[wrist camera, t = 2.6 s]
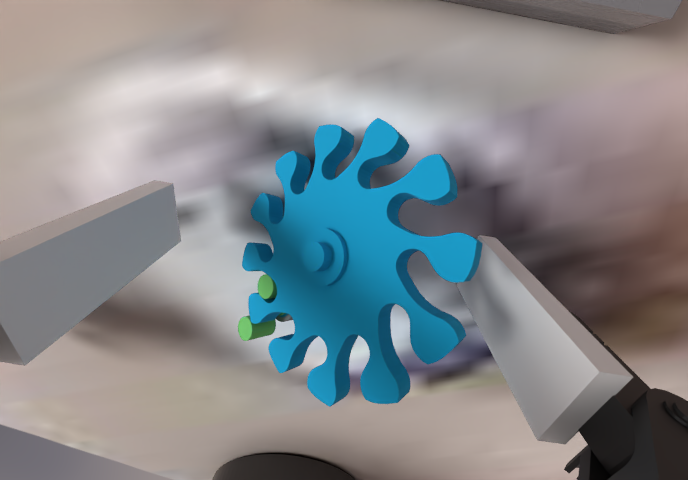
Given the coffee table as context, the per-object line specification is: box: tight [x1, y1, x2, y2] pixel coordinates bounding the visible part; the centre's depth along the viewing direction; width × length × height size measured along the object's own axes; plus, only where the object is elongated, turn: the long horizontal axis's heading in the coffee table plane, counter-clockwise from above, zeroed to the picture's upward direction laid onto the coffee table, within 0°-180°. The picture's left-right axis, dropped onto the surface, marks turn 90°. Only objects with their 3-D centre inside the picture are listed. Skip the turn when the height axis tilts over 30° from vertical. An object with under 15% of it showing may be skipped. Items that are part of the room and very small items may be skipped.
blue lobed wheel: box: [238, 118, 483, 406], centre depth 12 cm, size 11×6×10 cm
